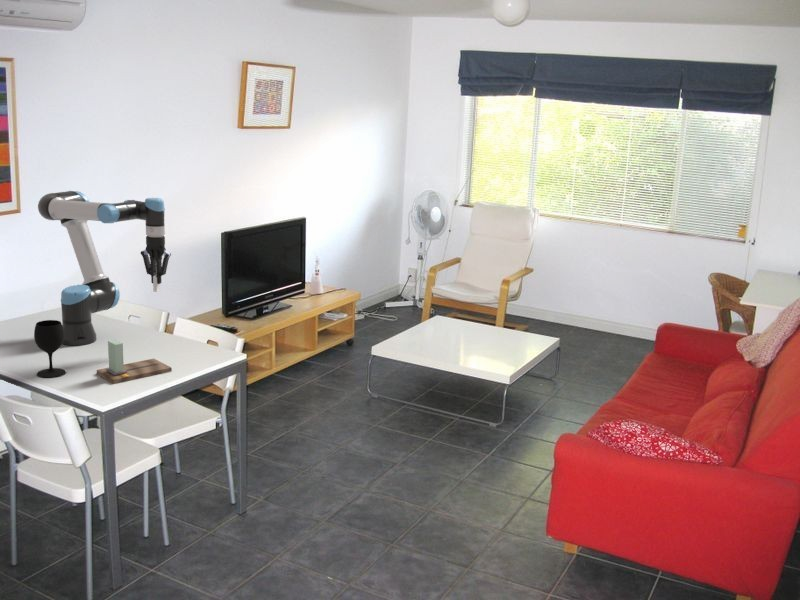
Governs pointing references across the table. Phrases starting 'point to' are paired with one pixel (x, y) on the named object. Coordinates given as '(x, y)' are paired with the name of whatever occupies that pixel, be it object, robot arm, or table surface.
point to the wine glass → (49, 344)
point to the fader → (115, 357)
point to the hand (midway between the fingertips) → (156, 291)
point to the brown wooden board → (136, 371)
